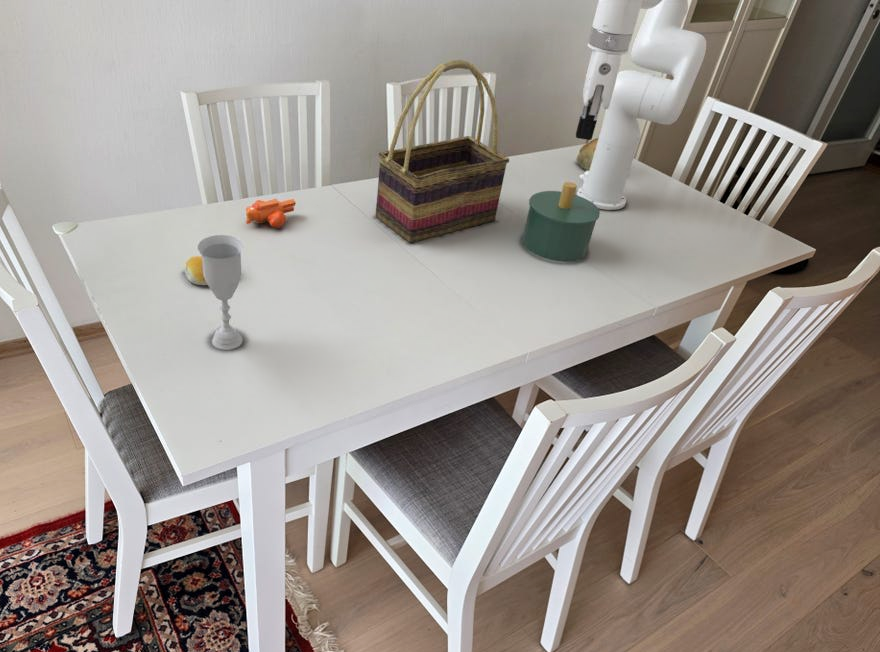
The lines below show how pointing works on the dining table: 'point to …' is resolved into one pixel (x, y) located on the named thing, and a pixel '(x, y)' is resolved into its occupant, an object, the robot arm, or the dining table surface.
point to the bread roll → (195, 271)
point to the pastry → (587, 154)
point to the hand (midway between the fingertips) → (583, 137)
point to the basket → (440, 175)
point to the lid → (564, 206)
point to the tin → (556, 238)
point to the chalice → (223, 281)
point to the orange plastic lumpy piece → (269, 212)
